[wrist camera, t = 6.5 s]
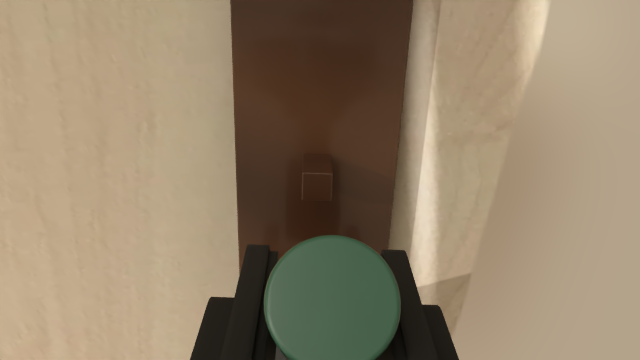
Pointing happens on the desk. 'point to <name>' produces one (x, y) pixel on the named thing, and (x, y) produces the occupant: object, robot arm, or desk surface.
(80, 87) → the desk surface
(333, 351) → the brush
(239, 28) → the stand
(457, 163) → the desk surface
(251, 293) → the robot arm
